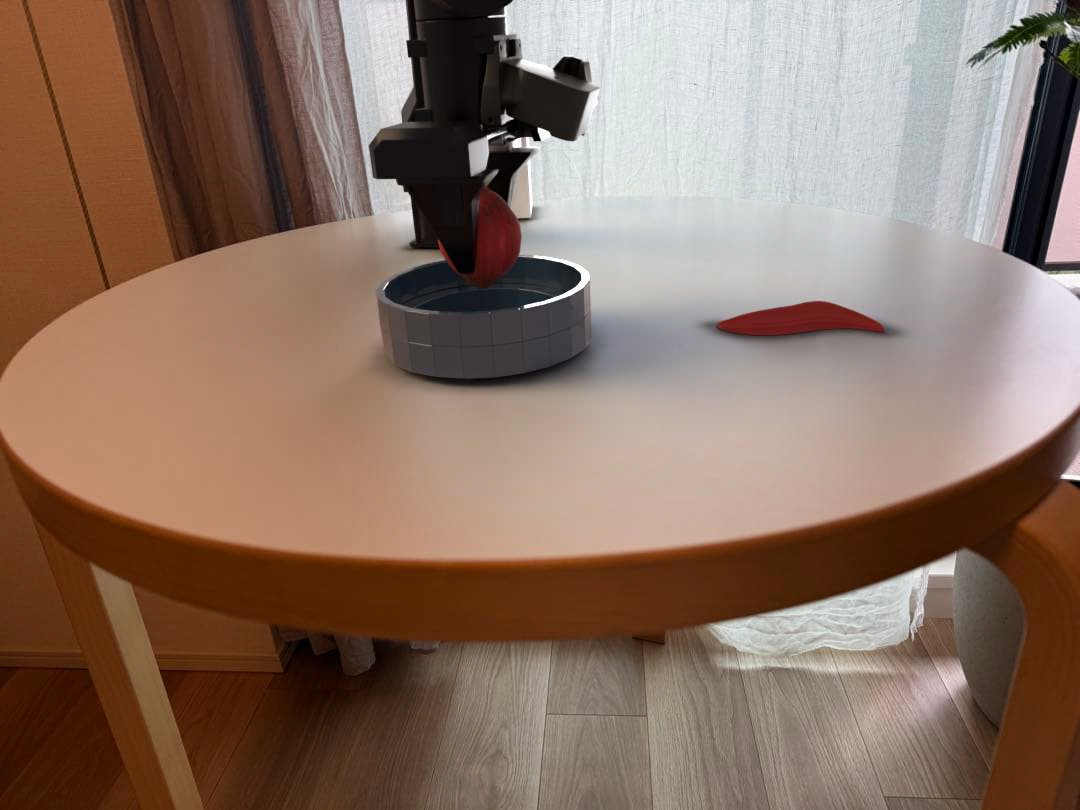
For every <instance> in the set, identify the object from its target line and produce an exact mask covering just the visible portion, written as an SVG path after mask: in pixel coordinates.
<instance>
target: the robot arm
mask: <svg viewBox="0 0 1080 810" xmlns="http://www.w3.org/2000/svg"><path fill="white" fill-rule="evenodd" d="M513 1H514V0H405V9H406V20H407V21H406V22H407V30H408V39H407V40H405V41H406V43H405V44H406V51H407V52H406V53H407V58H408V59H410V63H411V64H410V65H411V75H412V85H413V87H412V89H411V90H410V93H409V95H408V96H407V98H406V100H405V102H404V104H403V106H402V108H401V111H400V115H401V123H398V124H393V125H390V126H386V127H383V128H379V131H378V132H376V135H375V136H374V137H373V139H372V140H371V142H370V143H369V144H368V150H369V152H368V153H369V159H370V166H371V174H372V178H373V179H374V180H375V179H376V180H395V181H396V184H397V186H399V187H400V186H402V189H403V193H408V195H409V197H410V204H411V214H412V221H413V231H414V236H415V237H414V239H413V240H411V241H409V247H410V248H440V247H439V244H438V240H439V241H440V243H441V245H442V246H443V248H444V250H445V251H446V253H447V255H448V256H449V258H450V260H451V261H452V263H453V265H454V267H455V268H456V270H457V271H458V273H460V274H472V273H473V272H474V271H475V265H476V254H477V235H478V213H479V197H480V194H481V192H482V191H483V190H484V189H485V188H486V186H487V187H488V188H489V189H490V190H491V191H493V192H495V193H497V194H498V195H499V196H501V197H502V198H503V200H504V201H505V202H506V203H507V204H508V206H509V207H510V208H511V202H512V197H513V192H514V187H515V183H516V178H517V175H518V173H519V171H520V170H521V169H522V168H523V167H524V166H525V165H526V164H527V162H528V161H529V160H530V161H531V159H532V158H533V157H534V156H536V155H537V154H538V153H539V151H540V147H539V146H529V147H521V139H520V138H524V137H529V138H532V140H533V142H536V143H537V142H544V141H545V140H547V139H549V138H551V137H553V138H556V139H559V140H561V141H565V142H575V141H577V140H578V138H579V137H580V136H583V137H584V136H586V135H587V131H588V129H589V125H590V122H591V119H592V115H593V114H594V113H593V112H594V109H595V108H596V107H598V105H599V103H600V98H599V93H600V90H601V87H600V83H598V82H595V81H593V78H592V70H591V64H590V61H588V60H586V59H583V58H580V57H577V56H575V55H571V54H569V55H564V56H563V57H561V58H560V60H559V61H558V62H557V63H556V64H555V65H554V67H550V66H549V65H548V64H545V63H542V64H539V63H537V62H533V61H529V60H527V59H524V57H523V58H522V53H523V46H522V40H521V38H518V35H517V33H508V22H507V21H508V20H507V6H509V5H510V4H512V3H513Z"/></svg>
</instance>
